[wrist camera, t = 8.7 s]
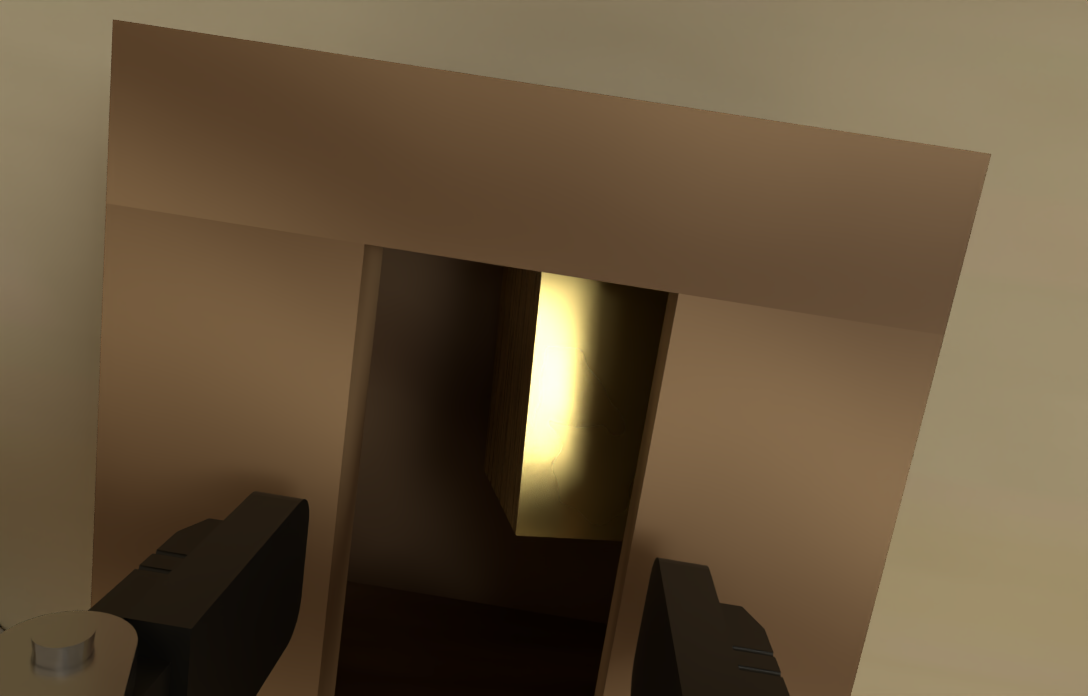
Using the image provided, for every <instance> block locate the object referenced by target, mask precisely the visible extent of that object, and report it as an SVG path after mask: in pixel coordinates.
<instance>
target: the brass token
mask: <svg viewBox="0 0 1088 696" xmlns="http://www.w3.org/2000/svg"><path fill="white" fill-rule="evenodd" d="M668 295H669V292H666V291H660V290H653V289H647V288H641V287H634V286H628V285H622V284H615V283H609V282H603V281H596V280H590V279H584V278H577V277H571V276H564V275H558V274H552V273H545V272H539V271H533V270H526V269H520V268H514V267H507V266H504V268H503V278H502V288H501V298H500V309H499V319H498V329H497V339H496V350H495V360H494V370H493V380H492V391H491V401H490V411H489V421H488V432H487V442H486V452H485V462H484V471H485V473H486V475H487V477H488V479H489V481H490V483H491V485H492V487H493V490H494V492H495V494H496V496H497V498H498V500H499V502H500V504H501V506H502V508H503V510H504V512H505V514H506V516H507V518H508V520H509V523H510V525H511V527H512V529H513V531H514V533H515V535H519V536H537V537H556V538H574V539H592V540H611V541H623V538H624V532H625V527H626V522H627V516H628V511H629V505H630V500H631V495H632V489H633V484H634V478H635V473H636V468H637V462H638V457H639V451H640V446H641V441H642V435H643V430H644V424H645V419H646V414H647V408H648V403H649V397H650V392H651V387H652V381H653V376H654V370H655V365H656V360H657V354H658V349H659V343H660V338H661V333H662V327H663V322H664V316H665V311H666V306H667V300H668Z"/></svg>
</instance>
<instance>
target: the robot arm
mask: <svg viewBox="0 0 1088 696" xmlns="http://www.w3.org/2000/svg"><path fill="white" fill-rule="evenodd" d="M308 526H309V504H308V501H307V500H306V499H301V498H295V497H289V496H283V495H276V494H270V493H264V492H258V491H254V492H252V493H251V494H250V495H249V496H248V497H247V498H246V499H245V500H244V501H243V502H242V503H241V504H240V505H239V506H238V507H237V508H236V509H235V510H234V511H233V512H231V513H230V514H229V515H228V516H227V517H226V518H225V519H224V520H217V519H211V518H208V519H206V520H204V521H201V522H199V523H196V524H194V525H191V526H189V527H187V528H184V529H182V530H179V531H177V532H176V533H175V534H174V535H173V536H171V537H170V538H169V539H168V540H167V541H166V542H165V543H164V544H162V545H161V546H160V547H159V548H158V549H157V550H156V554H153V553H152V554H151V555H150V556H149V557H148V558H147V559H146V560H144V561H143V562H142V563H141V564H140V565H139V569H134V570H133V571H132V572H131V573H130V574H129V575H128V576H126V577H125V578H124V579H123V580H122V581H121V582H120V583H119V584H117V585H116V586H115V587H114V588H113V589H112V590H111V591H110V592H108V593H107V594H106V595H105V596H104V597H103V598H102V599H101V600H99V601H98V602H97V603H96V604H95V605H94V606H93V607H92V608H90V609H89V610H88V611H64V612H57V613H51V614H47V615H42V616H38V617H35V618H32V619H29V620H26V621H24V622H21V623H19V624H17V625H15V626H13V627H11V628H9V629H7V630H6V631H4V632H3V633H1V634H0V696H256V695H257V693H258V692H259V690H260V689H261V687H262V685H263V684H264V682H265V681H266V679H267V678H268V676H269V674H270V673H271V671H272V670H273V668H274V666H275V665H276V663H277V662H278V660H279V658H280V657H281V655H282V654H283V652H284V650H285V649H286V647H287V646H288V644H289V642H290V640H291V637H292V635H293V632H294V629H295V626H296V623H297V619H298V615H299V610H300V605H301V598H302V588H303V577H304V567H305V557H306V546H307V536H308ZM773 653H774V652H773V650H772V647H771V644H770V642H769V639H768V636H767V634H766V631H765V629H764V628H763V627H762V626H761V625H760V624H759V623H758V622H757V621H756V620H755V619H754V618H753V617H752V616H751V615H750V614H749V613H748V612H747V611H746V610H745V609H744V608H743V607H742V606H737V605H731V604H725V603H719V599H718V596H717V593H716V589H715V586H714V583H713V579H712V576H711V573H710V569H709V567H708V566H707V565H701V564H695V563H689V562H682V561H676V560H670V559H664V558H658V557H656V558H655V560H654V563H653V566H652V570H651V574H650V579H649V584H648V589H647V594H646V599H645V605H644V610H643V615H642V620H641V625H640V630H639V635H638V641H637V646H636V651H635V656H634V662H633V670H632V679H631V696H790V695H789V692H788V689H787V687H786V684H785V681H784V679H783V677H781V671H780V668H779V666H778V663H777V660H776V658H775V657H773Z"/></svg>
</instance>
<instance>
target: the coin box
mask: <svg viewBox="0 0 1088 696" xmlns="http://www.w3.org/2000/svg"><path fill="white" fill-rule="evenodd" d="M990 157H991V154H987V153H981V152H974V151H968V150H961V149H955V148H948V147H942V146H935V145H928V144H922V143H915V142H909V141H902V140H896V139H889V138H883V137H876V136H870V135H863V134H857V133H850V132H844V131H837V130H831V129H824V128H817V127H811V126H804V125H798V124H791V123H785V122H778V121H772V120H765V119H759V118H752V117H746V116H739V115H733V114H726V113H720V112H713V111H706V110H700V109H693V108H687V107H680V106H674V105H667V104H661V103H654V102H648V101H641V100H635V99H628V98H622V97H615V96H609V95H602V94H596V93H589V92H582V91H576V90H569V89H563V88H556V87H550V86H543V85H537V84H530V83H524V82H517V81H511V80H504V79H498V78H491V77H485V76H478V75H471V74H465V73H458V72H452V71H445V70H439V69H432V68H426V67H419V66H413V65H406V64H400V63H393V62H387V61H380V60H374V59H367V58H360V57H354V56H347V55H341V54H334V53H328V52H321V51H315V50H308V49H302V48H295V47H289V46H282V45H276V44H269V43H263V42H256V41H250V40H243V39H236V38H230V37H223V36H217V35H210V34H204V33H197V32H191V31H184V30H178V29H171V28H165V27H158V26H152V25H145V24H139V23H132V22H125V21H119V20H113V32H112V59H111V86H110V112H109V139H108V166H107V192H106V219H105V246H104V272H103V299H102V326H101V352H100V379H99V406H98V432H97V459H96V486H95V512H94V539H93V566H92V592H91V608H92V607H93V606H94V605H95V604H96V603H97V602H98V601H99V600H101V599H102V598H103V597H104V596H105V595H106V594H107V593H108V592H110V591H111V590H112V589H113V588H114V587H115V586H116V585H117V584H119V583H120V582H121V581H122V580H123V579H124V578H125V577H126V576H128V575H129V574H130V573H131V572H132V571H133V570H134V569H139V565H140V564H141V563H142V562H143V561H144V560H146V559H147V558H148V557H149V556H150V555H151V554H152V553H153V554H156V550H157V549H158V548H159V547H160V546H161V545H162V544H164V543H165V542H166V541H167V540H168V539H169V538H170V537H171V536H173V535H174V534H175V533H176V532H177V531H179V530H182V529H184V528H187V527H189V526H191V525H194V524H196V523H199V522H201V521H204V520H206V519H208V518H211V519H217V520H224V519H225V518H226V517H227V516H228V515H229V514H230V513H231V512H233V511H234V510H235V509H236V508H237V507H238V506H239V505H240V504H241V503H242V502H243V501H244V500H245V499H246V498H247V497H248V496H249V495H250V494H251V493H252V492H254V491H258V492H264V493H270V494H276V495H283V496H289V497H295V498H301V499H306V500H307V501H308V504H309V526H308V536H307V546H306V557H305V567H304V577H303V588H302V598H301V605H300V610H299V615H298V619H297V623H296V626H295V629H294V632H293V635H292V637H291V640H290V642H289V644H288V646H287V647H286V649H285V650H284V652H283V654H282V655H281V657H280V658H279V660H278V662H277V663H276V665H275V666H274V668H273V670H272V671H271V673H270V674H269V676H268V678H267V679H266V681H265V682H264V684H263V685H262V687H261V689H260V690H259V692H258V693H257V695H256V696H631V679H632V670H633V662H634V656H635V651H636V646H637V641H638V635H639V630H640V625H641V620H642V615H643V610H644V605H645V599H646V594H647V589H648V584H649V579H650V574H651V570H652V566H653V563H654V560H655V558H656V557H658V558H664V559H670V560H676V561H682V562H689V563H695V564H701V565H707V566H708V567H709V569H710V573H711V576H712V579H713V583H714V586H715V589H716V593H717V596H718V599H719V603H725V604H731V605H737V606H742V607H743V608H744V609H745V610H746V611H747V612H748V613H749V614H750V615H751V616H752V617H753V618H754V619H755V620H756V621H757V622H758V623H759V624H760V625H761V626H762V627H763V628H764V629H765V631H766V634H767V636H768V639H769V642H770V644H771V647H772V650H773V652H774V653H773V657H775V658H776V660H777V663H778V666H779V668H780V671H781V677H783V679H784V681H785V684H786V687H787V689H788V692H789V695H790V696H851V692H852V688H853V684H854V680H855V677H856V673H857V669H858V665H859V661H860V657H861V653H862V650H863V646H864V642H865V638H866V634H867V630H868V627H869V623H870V619H871V615H872V611H873V607H874V603H875V600H876V596H877V592H878V588H879V584H880V580H881V577H882V573H883V569H884V565H885V561H886V557H887V553H888V550H889V546H890V542H891V538H892V534H893V530H894V526H895V523H896V519H897V515H898V511H899V507H900V503H901V500H902V496H903V492H904V488H905V484H906V480H907V476H908V473H909V469H910V465H911V461H912V457H913V453H914V450H915V446H916V442H917V438H918V434H919V430H920V426H921V423H922V419H923V415H924V411H925V407H926V403H927V399H928V396H929V392H930V388H931V384H932V380H933V376H934V373H935V369H936V365H937V361H938V357H939V353H940V349H941V346H942V342H943V338H944V334H945V330H946V326H947V322H948V319H949V315H950V311H951V307H952V303H953V299H954V296H955V292H956V288H957V284H958V280H959V276H960V272H961V269H962V265H963V261H964V257H965V253H966V249H967V246H968V242H969V238H970V234H971V230H972V226H973V222H974V219H975V215H976V211H977V207H978V203H979V199H980V195H981V192H982V188H983V184H984V180H985V176H986V172H987V169H988V165H989V161H990ZM504 266H507V267H514V268H520V269H526V270H533V271H539V272H545V273H552V274H558V275H564V276H571V277H577V278H584V279H590V280H596V281H603V282H609V283H615V284H622V285H628V286H634V287H641V288H647V289H653V290H660V291H666V292H669V295H668V300H667V306H666V311H665V316H664V322H663V327H662V333H661V338H660V343H659V349H658V354H657V360H656V365H655V370H654V376H653V381H652V387H651V392H650V397H649V403H648V408H647V414H646V419H645V424H644V430H643V435H642V441H641V446H640V451H639V457H638V462H637V468H636V473H635V478H634V484H633V489H632V495H631V500H630V505H629V511H628V516H627V522H626V527H625V532H624V538H623V541H611V540H592V539H574V538H556V537H537V536H519V535H515V533H514V531H513V529H512V527H511V525H510V523H509V520H508V518H507V516H506V514H505V512H504V510H503V508H502V506H501V504H500V502H499V500H498V498H497V496H496V494H495V492H494V490H493V487H492V485H491V483H490V481H489V479H488V477H487V475H486V473H485V471H484V462H485V452H486V442H487V432H488V421H489V411H490V401H491V391H492V380H493V370H494V360H495V350H496V339H497V329H498V319H499V309H500V298H501V288H502V278H503V268H504Z"/></svg>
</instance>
